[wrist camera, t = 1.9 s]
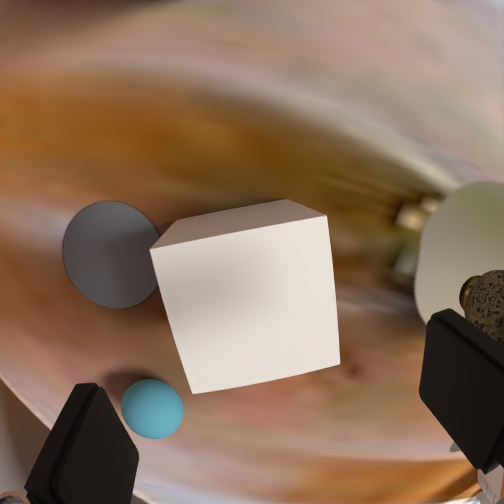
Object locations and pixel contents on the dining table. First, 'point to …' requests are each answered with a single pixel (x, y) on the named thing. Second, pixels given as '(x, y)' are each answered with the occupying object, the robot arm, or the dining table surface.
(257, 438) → the dining table surface
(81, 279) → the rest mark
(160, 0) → the dining table surface
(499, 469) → the supplement box
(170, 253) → the cream matte cube
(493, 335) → the stone
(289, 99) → the dining table surface
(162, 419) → the ball
